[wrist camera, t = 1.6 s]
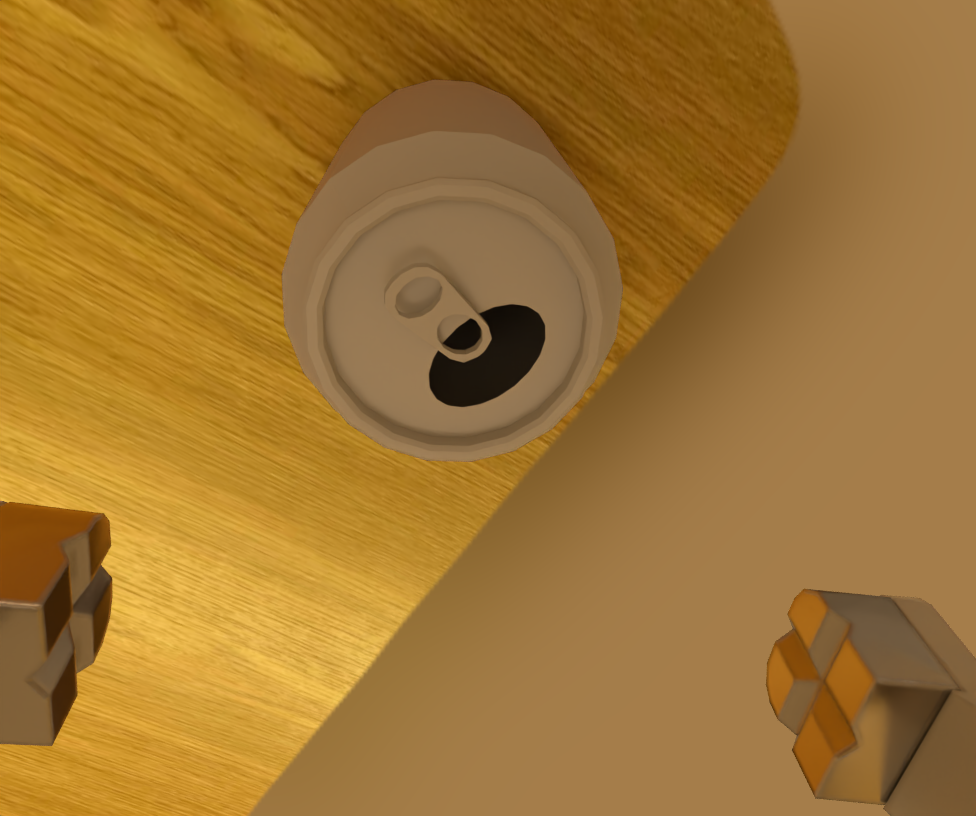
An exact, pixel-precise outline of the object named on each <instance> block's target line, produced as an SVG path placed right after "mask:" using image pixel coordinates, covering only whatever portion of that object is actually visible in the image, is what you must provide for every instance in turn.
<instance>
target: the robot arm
mask: <svg viewBox="0 0 976 816" xmlns="http://www.w3.org/2000/svg"><path fill="white" fill-rule="evenodd" d="M110 547H111V537H110V523H109V520H108V518H107V517H106V516H105V515H104V514H102V513H94V512H86V511H78V510H70V509H63V508H55V507H47V506H39V505H31V504H23V503H15V502H9V503H7V502H4V501H0V744H16V745H40V746H52V745H53V743H54V741H55V739H56V737H57V735H58V733H59V731H60V729H61V727H62V725H63V723H64V721H65V719H66V717H67V715H68V713H69V711H70V709H71V707H72V705H73V703H74V701H75V699H76V697H77V673H78V672H80V671H81V670H83V669H85V668H86V667H88V666H89V665H91V664H93V663H94V661H95V658H96V656H97V654H98V652H99V650H100V648H101V646H102V643H103V640H104V637H105V633H106V630H107V626H108V623H109V619H110V614H111V605H112V577H111V576H110V575H109V574H108V573H107V572H106V570H105V569H104V568H103V567H102V566H101V563H102V561H103V559H104V558H105V556H106V554H107V552H108V550H109V549H110ZM788 617H789V620H790V622H791V625H792V627H793V629H792V630H791V631H789V632H788V633H787V634H785V635H784V636H782V637H781V638H780V639H778V640H777V641H776V642H775V644H774V646H773V649H772V652H771V654H770V657H769V659H768V662H767V677H766V687H767V691H768V696H769V701H770V704H771V706H772V708H773V710H774V713H775V715H776V717H777V719H778V720H779V721H780V722H781V723H783V724H784V725H785V726H786V727H787V728H789V729H790V730H791V731H792V732H793V733H794V734H796V735H797V737H796V740H795V743H794V746H793V749H792V751H793V753H794V755H795V757H796V759H797V761H798V763H799V765H800V767H801V769H802V772H803V774H804V776H805V778H806V780H807V782H808V784H809V786H810V788H811V790H812V792H813V794H814V796H815V798H817V799H827V800H837V801H848V802H858V803H869V804H878V805H885V806H884V808H883V809H884V810H885V811H887V813H888V814H889V815H890V816H976V658H975V657H974V656H973V655H972V653H971V652H970V651H969V650H968V649H967V648H966V646H965V645H964V644H963V642H962V641H961V640H960V639H959V638H958V637H957V635H956V634H955V633H954V632H953V630H952V629H951V628H950V627H949V625H948V624H947V623H946V622H945V620H944V619H943V618H942V617H941V616H940V614H939V613H938V612H937V611H936V609H935V608H934V607H933V606H932V605H931V604H929V603H927V602H926V601H924V600H922V599H920V598H914V597H901V596H888V595H887V596H886V595H880V596H872V595H861V594H852V593H842V592H832V591H822V590H811V589H803V590H802V591H801V592H800V593H799V594H798V595H797V596H796V597H795V598H794V601H793V603H792V605H791V607H790V610H789V612H788Z"/></svg>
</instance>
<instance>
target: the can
mask: <svg viewBox="0 0 976 816" xmlns="http://www.w3.org/2000/svg"><path fill="white" fill-rule="evenodd" d="M282 288H283V306H284V324H285V328H286V331H287V333H288V336H289V338H290V341H291V343H292V346H293V348H294V350H295V353H296V355H297V358H298V360H299V363H300V365H301V368H302V370H303V373H304V374H305V375H306V376H307V377H308V379H309V380H310V381H311V382H312V383H313V385H314V386H315V387H316V388H317V389H318V391H319V392H320V393H321V394H322V395H323V397H324V398H325V399H326V400H327V401H328V402H329V404H330V405H331V406H332V407H333V408H334V410H335V411H337V412H338V413H340V415H341V416H342V417H343V418H344V419H345V421H346V422H347V423H348V424H349V425H351V426H352V427H354V428H355V429H357V430H359V431H360V432H362V433H363V434H365V435H366V436H368V437H369V438H371V439H372V440H374V441H375V442H377V443H378V444H380V445H382V446H383V447H385V448H387V449H391V450H394V451H397V452H401V453H404V454H407V455H410V456H414V457H417V458H420V459H423V460H427V461H463V462H472V461H476V460H480V459H484V458H488V457H492V456H496V455H500V454H504V453H508V452H512V451H515V450H517V449H518V448H520V447H522V446H523V445H525V444H527V443H529V442H530V441H532V440H534V439H536V438H537V437H539V436H541V435H543V434H544V433H546V432H548V431H550V430H551V429H552V428H553V427H554V426H555V425H556V424H557V423H558V422H559V421H560V420H561V419H562V418H563V417H564V416H565V415H566V414H567V413H568V412H569V411H570V410H571V409H572V408H573V407H574V406H575V404H576V403H577V402H578V401H579V400H580V399H581V398H582V396H583V394H584V392H585V391H586V390H587V389H588V388H589V387H590V386H591V385H592V384H593V382H594V381H595V379H596V377H597V375H598V373H599V371H600V369H601V367H602V365H603V363H604V361H605V359H606V357H607V355H608V353H609V351H610V349H611V347H612V345H613V343H614V341H615V339H616V334H617V327H618V320H619V313H620V306H621V299H622V292H623V286H622V281H621V276H620V270H619V265H618V260H617V254H616V249H615V244H614V238H613V237H612V235H611V233H610V231H609V230H608V228H607V226H606V224H605V223H604V221H603V219H602V218H601V216H600V214H599V212H598V211H597V209H596V207H595V205H594V204H593V202H592V200H591V198H590V197H589V195H588V193H587V192H586V190H585V189H584V187H583V186H582V185H581V183H580V182H579V180H578V179H577V177H576V176H575V175H574V173H573V172H572V170H571V169H570V168H569V166H568V165H567V163H566V162H565V161H564V159H563V158H562V156H561V155H560V154H559V152H558V151H557V149H556V148H555V147H554V145H553V144H552V142H551V141H550V139H549V138H548V137H547V135H546V134H545V132H544V131H543V130H542V128H541V127H540V125H539V124H538V123H537V122H536V121H535V120H534V119H533V118H532V117H531V116H530V115H528V114H527V113H526V112H525V111H524V110H523V109H522V108H520V107H519V106H518V105H517V104H516V103H515V102H514V101H513V100H511V99H510V98H509V97H508V96H505V95H503V94H500V93H498V92H496V91H493V90H491V89H488V88H486V87H484V86H481V85H479V84H476V83H474V82H466V81H449V80H430V81H427V82H423V83H419V84H416V85H412V86H409V87H405V88H402V89H398V90H396V91H394V92H393V93H391V94H390V95H388V96H387V97H386V98H384V99H383V100H381V101H380V102H378V103H377V104H376V105H374V106H373V107H371V108H370V109H368V110H367V111H366V112H364V114H363V115H362V116H361V118H360V119H359V121H358V122H357V123H356V125H355V126H354V128H353V129H352V130H351V132H350V133H349V134H348V136H347V137H346V139H345V140H344V141H343V143H342V144H341V146H340V148H339V150H338V152H337V153H336V155H335V157H334V159H333V160H332V162H331V164H330V166H329V167H328V169H327V171H326V173H325V175H324V176H323V178H322V180H321V182H320V183H319V185H318V187H317V189H316V191H315V192H314V194H313V196H312V198H311V199H310V201H309V203H308V205H307V206H306V208H305V210H304V212H303V214H302V215H301V217H300V219H299V221H298V222H297V225H296V228H295V231H294V235H293V238H292V242H291V245H290V248H289V252H288V255H287V259H286V262H285V265H284V269H283V272H282Z"/></svg>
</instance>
